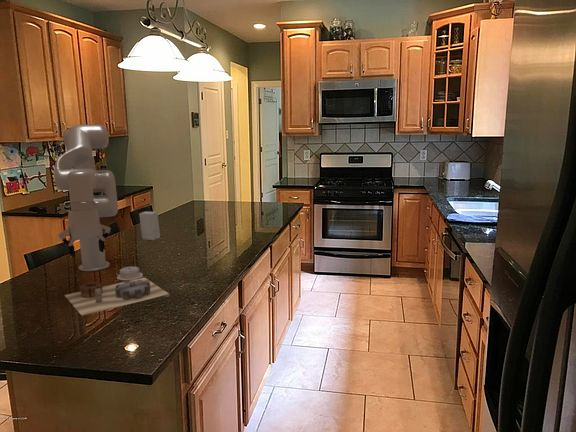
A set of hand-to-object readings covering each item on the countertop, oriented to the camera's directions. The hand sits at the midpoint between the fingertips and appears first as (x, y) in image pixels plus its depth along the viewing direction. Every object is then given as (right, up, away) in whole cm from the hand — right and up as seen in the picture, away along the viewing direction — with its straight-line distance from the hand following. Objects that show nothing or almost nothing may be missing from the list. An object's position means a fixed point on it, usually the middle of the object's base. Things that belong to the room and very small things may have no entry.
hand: (87, 253), depth 165 cm
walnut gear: (0, -15, +3) cm, 15 cm away
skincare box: (-4, +1, +89) cm, 89 cm away
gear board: (+9, -16, +3) cm, 19 cm away
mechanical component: (+7, -12, +23) cm, 27 cm away
